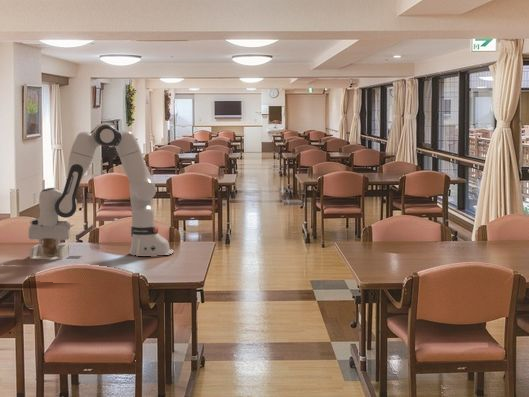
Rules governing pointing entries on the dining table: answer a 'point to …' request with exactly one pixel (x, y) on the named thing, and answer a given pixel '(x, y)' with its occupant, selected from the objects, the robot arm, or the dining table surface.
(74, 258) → the coaster
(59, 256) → the box
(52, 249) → the block
